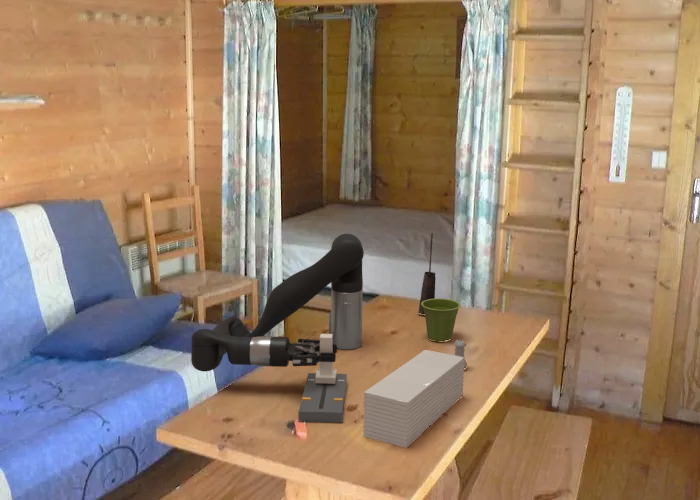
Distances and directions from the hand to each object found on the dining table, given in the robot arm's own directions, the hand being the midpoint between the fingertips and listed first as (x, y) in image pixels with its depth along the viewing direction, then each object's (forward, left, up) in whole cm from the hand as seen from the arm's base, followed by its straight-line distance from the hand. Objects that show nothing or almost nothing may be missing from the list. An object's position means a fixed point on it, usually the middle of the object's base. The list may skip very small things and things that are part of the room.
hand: (335, 353), depth 194 cm
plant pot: (-9, +50, -10) cm, 52 cm away
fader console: (+3, -7, -10) cm, 12 cm away
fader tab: (-2, -2, -7) cm, 7 cm away
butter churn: (-28, +65, -10) cm, 72 cm away
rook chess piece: (+11, +35, -10) cm, 38 cm away
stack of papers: (+24, +4, -10) cm, 26 cm away
